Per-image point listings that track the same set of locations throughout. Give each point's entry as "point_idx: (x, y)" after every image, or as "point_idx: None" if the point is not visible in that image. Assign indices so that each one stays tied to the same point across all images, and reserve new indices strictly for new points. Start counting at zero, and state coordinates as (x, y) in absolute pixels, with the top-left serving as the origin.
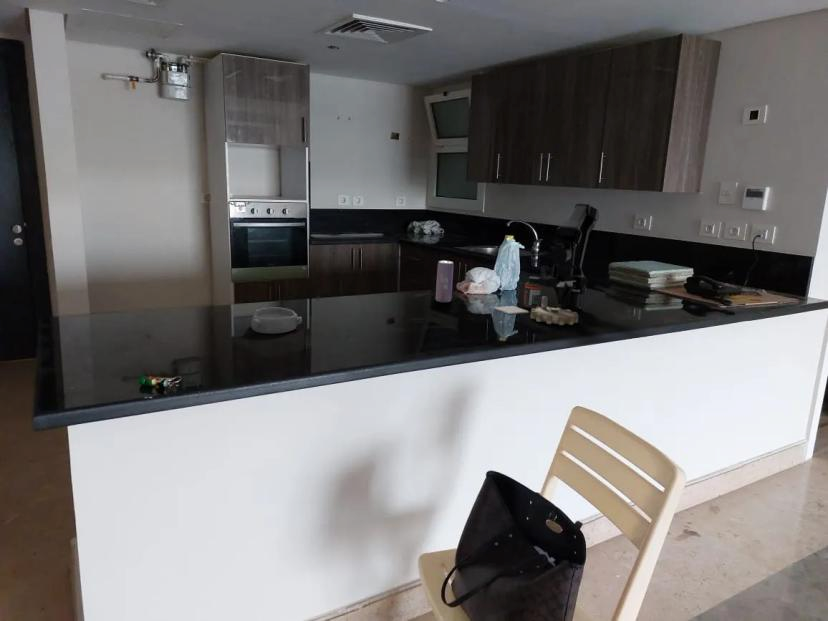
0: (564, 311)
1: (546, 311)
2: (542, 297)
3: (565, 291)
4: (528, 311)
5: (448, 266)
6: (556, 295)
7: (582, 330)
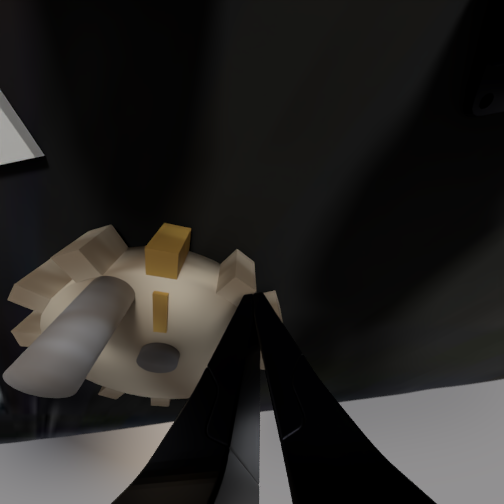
0: None
1: (113, 345)
2: (13, 378)
3: (255, 502)
4: (34, 157)
5: None
6: (207, 365)
7: None
